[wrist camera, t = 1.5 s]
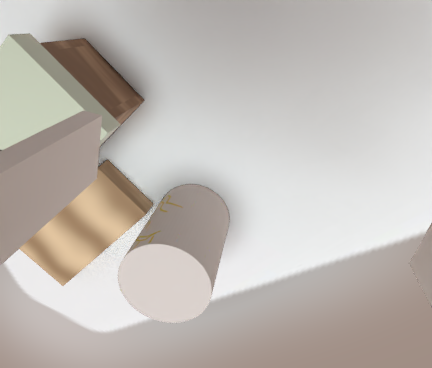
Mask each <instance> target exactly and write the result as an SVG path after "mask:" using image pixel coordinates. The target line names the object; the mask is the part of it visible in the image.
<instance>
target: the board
mask: <svg viewBox="0 0 432 368" xmlns="http://www.w3.org/2000/svg"><path fill="white" fill-rule="evenodd" d="M152 205H153V203H152V202H151V201H150V200H149V199H148V198H147V197H146V196H145V195H144V194H142V193H141V192H140V191H139V190H138V189H137V188H136V187H135V186H134V185H133V184H132V183H131V182H130V181H129V180H128V179H127V178H126V177H125V176H124V175H123V174H122V173H121V172H120V171H119V170H118V169H117V168H116V167H115V166H114V165H113V164H112V163H111V162H110V161H108V160H106V161H105V162H104V163H103V164H102V165H100V166H99V167H98V171H97V179H96V180H95V181H94V182H93V183H91V184H90V185H89V186H88V187H87V188H86V189H85V190H84V191H83V192H81V193H80V194H79V195H78V196H77V197H76V198H75V199H74V200H73V201H71V202H70V203H69V204H68V205H67V206H66V207H65V208H64V209H63V210H61V211H60V212H59V213H58V214H57V215H56V216H55V217H54V218H53V219H51V220H50V221H49V222H48V223H47V224H46V225H45V226H44V227H43V228H41V229H40V230H39V231H38V232H37V233H36V234H35V235H34V236H33V237H31V238H30V239H29V240H28V241H27V242H26V243H25V244H24V245H23V246H21V247H20V248H19V249H20V250H21V251H22V252H24V253H25V254H26V255H27V256H28V257H29V258H31V259H32V260H33V261H34V262H35V263H36V264H38V265H39V266H40V267H41V268H42V269H43V270H45V271H46V272H47V273H48V274H49V275H51V276H52V277H53V278H54V279H55V280H56V281H58V282H59V283H60V284H61V285H62V286H64V285H65V284H66V283H67V282H68V281H69V280H71V279H72V278H73V277H74V276H75V275H76V274H78V273H79V272H80V271H81V270H82V269H83V268H84V267H86V266H87V265H88V264H89V263H90V262H91V261H93V260H94V259H95V258H96V257H97V256H98V255H100V254H101V253H102V252H103V251H104V250H105V249H106V248H108V247H109V246H110V245H111V244H112V243H113V242H115V241H116V240H117V239H118V238H119V237H120V236H121V235H123V234H124V233H125V232H126V231H127V230H128V229H130V228H131V227H132V226H133V225H134V224H135V223H136V222H138V221H139V220H140V219H141V218H142V217H143V216H145V215H146V214H147V212H148V211H149V209H150V208H151V206H152Z"/></svg>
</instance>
